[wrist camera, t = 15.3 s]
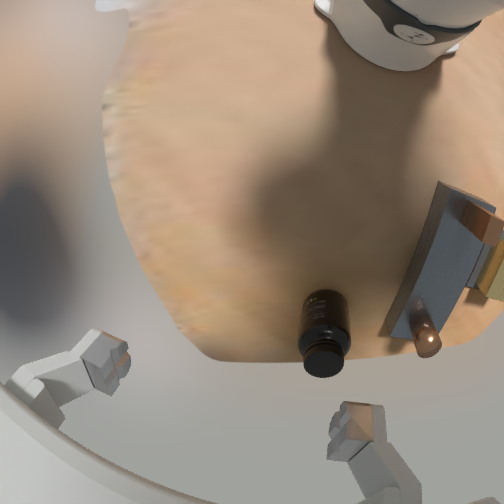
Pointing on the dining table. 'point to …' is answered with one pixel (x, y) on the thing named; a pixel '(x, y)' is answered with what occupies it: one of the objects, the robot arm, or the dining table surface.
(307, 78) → the dining table surface
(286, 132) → the dining table surface
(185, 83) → the dining table surface
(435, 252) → the body
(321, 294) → the supplement bottle
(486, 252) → the mat
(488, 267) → the lever cap
